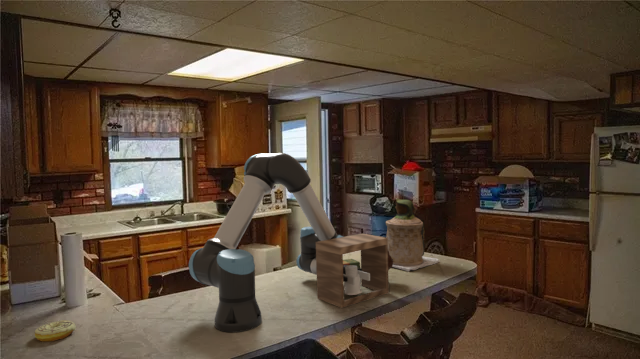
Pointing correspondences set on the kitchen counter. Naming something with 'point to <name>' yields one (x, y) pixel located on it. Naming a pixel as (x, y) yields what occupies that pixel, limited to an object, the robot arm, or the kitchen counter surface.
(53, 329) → the decorated donut
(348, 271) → the downlight
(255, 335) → the kitchen counter surface
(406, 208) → the cookie jar
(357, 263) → the carton
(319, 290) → the counter shelf
